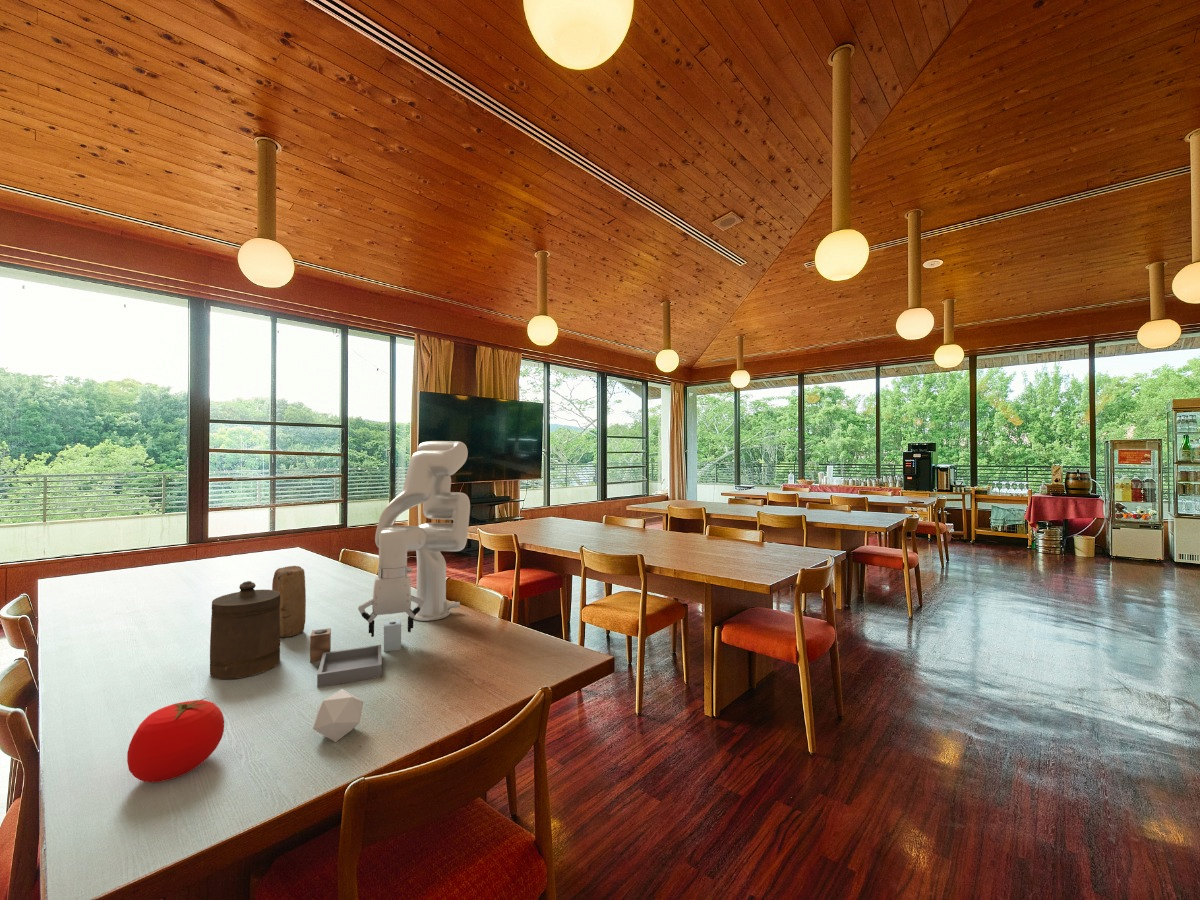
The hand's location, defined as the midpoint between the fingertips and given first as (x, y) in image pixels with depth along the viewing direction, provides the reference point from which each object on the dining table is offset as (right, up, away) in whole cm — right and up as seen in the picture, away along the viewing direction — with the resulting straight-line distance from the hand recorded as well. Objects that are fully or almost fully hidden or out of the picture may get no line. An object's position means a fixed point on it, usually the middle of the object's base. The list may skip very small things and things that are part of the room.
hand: (391, 633), depth 141 cm
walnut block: (-16, -4, -7) cm, 18 cm away
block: (-37, -4, +12) cm, 39 cm away
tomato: (-15, -4, -54) cm, 56 cm away
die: (+8, -4, -43) cm, 44 cm away
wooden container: (-32, -4, -13) cm, 35 cm away
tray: (-4, -4, -14) cm, 16 cm away
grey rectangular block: (0, -4, +1) cm, 4 cm away
